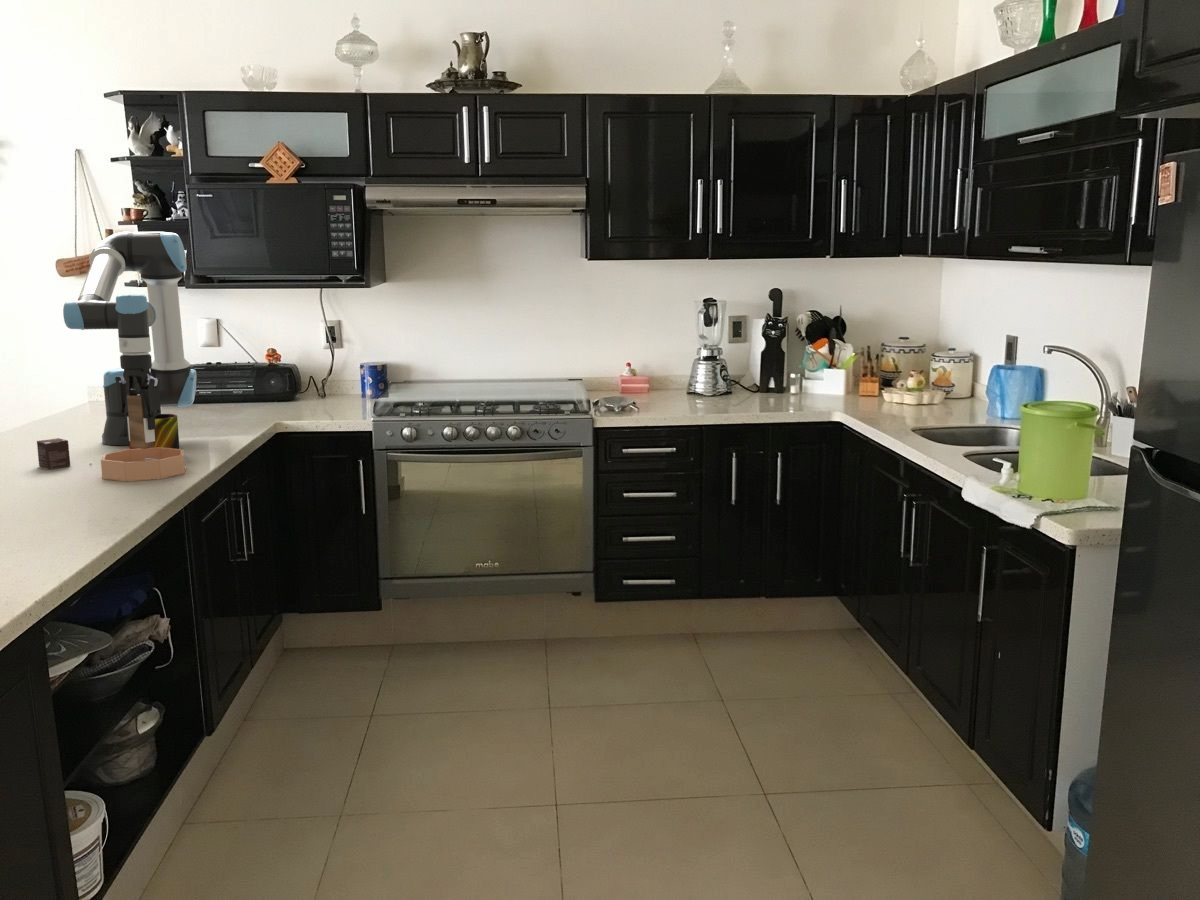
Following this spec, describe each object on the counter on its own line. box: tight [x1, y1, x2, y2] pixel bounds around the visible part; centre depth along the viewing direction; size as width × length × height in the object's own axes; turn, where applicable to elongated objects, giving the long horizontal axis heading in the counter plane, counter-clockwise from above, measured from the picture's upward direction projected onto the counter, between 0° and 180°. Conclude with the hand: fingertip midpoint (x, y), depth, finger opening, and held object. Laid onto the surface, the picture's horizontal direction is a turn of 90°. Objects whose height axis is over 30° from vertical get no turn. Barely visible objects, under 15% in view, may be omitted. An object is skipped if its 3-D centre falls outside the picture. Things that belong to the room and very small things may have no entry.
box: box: [36, 437, 71, 470], centre depth 280 cm, size 6×6×7 cm
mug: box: [129, 413, 181, 449], centre depth 293 cm, size 10×14×12 cm
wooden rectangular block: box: [127, 394, 154, 449], centre depth 270 cm, size 3×5×14 cm, turn 67°
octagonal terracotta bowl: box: [100, 447, 186, 482], centre depth 272 cm, size 20×20×5 cm
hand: (142, 440), depth 271 cm, fingers closed on wooden rectangular block, 5 cm apart
